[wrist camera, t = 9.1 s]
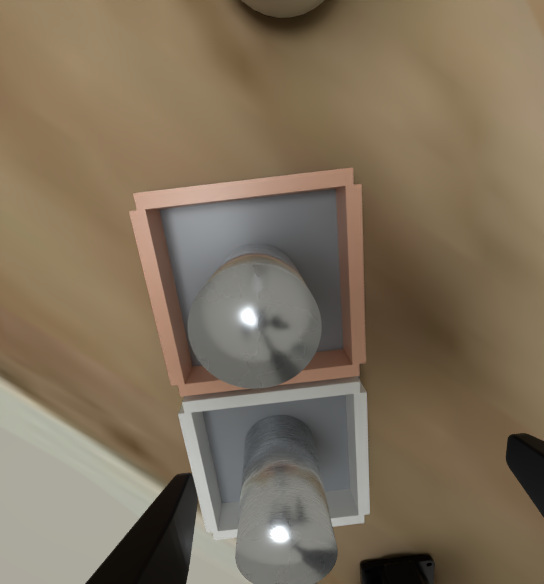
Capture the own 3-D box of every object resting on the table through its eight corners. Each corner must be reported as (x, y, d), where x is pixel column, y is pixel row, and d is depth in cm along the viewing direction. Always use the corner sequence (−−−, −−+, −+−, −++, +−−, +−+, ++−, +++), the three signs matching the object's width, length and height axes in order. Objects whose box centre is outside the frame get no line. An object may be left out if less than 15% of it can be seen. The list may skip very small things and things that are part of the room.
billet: (315, 466, 21) (340, 584, 15) (249, 474, 21) (243, 595, 15) (310, 410, 20) (334, 512, 13) (239, 419, 20) (227, 524, 13)
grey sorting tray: (359, 485, 23) (372, 524, 20) (213, 501, 23) (206, 543, 20) (347, 170, 17) (365, 161, 14) (144, 194, 17) (119, 190, 14)
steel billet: (302, 317, 18) (325, 381, 11) (224, 327, 18) (200, 395, 11) (295, 238, 17) (316, 256, 10) (210, 248, 17) (174, 273, 10)
